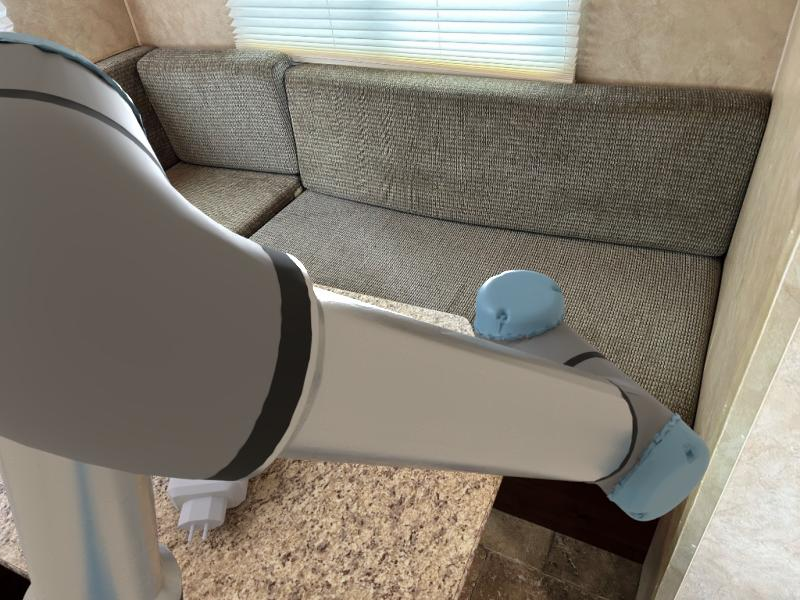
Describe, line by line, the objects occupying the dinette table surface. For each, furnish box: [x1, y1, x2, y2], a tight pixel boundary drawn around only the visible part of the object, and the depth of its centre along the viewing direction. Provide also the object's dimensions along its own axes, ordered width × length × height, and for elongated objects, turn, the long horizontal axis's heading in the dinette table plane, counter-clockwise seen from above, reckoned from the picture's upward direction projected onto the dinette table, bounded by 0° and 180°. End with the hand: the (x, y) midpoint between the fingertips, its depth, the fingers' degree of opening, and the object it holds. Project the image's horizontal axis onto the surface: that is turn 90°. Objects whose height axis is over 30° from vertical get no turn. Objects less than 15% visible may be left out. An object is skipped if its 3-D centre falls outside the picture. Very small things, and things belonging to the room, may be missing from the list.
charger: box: [166, 477, 250, 543], centre depth 78 cm, size 5×9×15 cm
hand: (253, 331), depth 74 cm, fingers closed on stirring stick, 3 cm apart
